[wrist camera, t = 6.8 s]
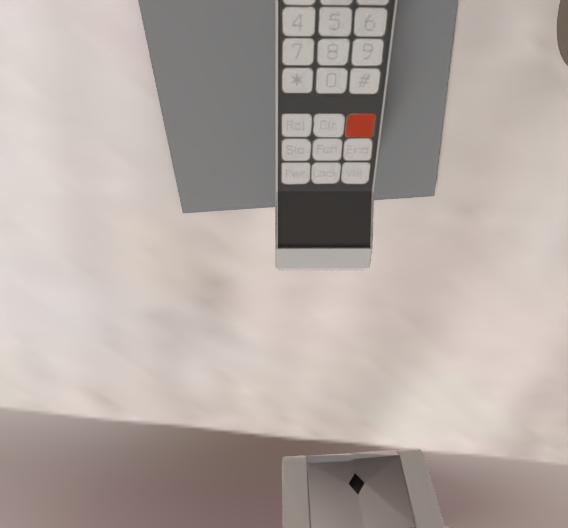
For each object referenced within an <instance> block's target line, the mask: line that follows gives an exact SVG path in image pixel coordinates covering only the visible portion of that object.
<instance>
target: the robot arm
mask: <svg viewBox="0 0 568 528" xmlns="http://www.w3.org/2000/svg"><path fill="white" fill-rule="evenodd" d="M306 457H307V463H306ZM282 501H283V528H452V527H445V526H444V523H443V519H442V516H441V512H440V509H439V505H438V502H437V498H436V495H435V491H434V488H433V484H432V481H431V477H430V474H429V470H428V467H427V464H426V460H425V456H424V454H423V452H422V451H421V450H420V449H408V450H386V451H373V452H360V453H351V454H334V455H314V456H291V457H283V462H282Z"/></svg>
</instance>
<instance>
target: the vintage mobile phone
mask: <svg viewBox="0 0 568 528" xmlns="http://www.w3.org/2000/svg"><path fill="white" fill-rule="evenodd" d="M397 2H398V0H275V239H276V268H277V269H279V270H281V271H363V270H365V269H367V268H369V267H370V261H371V253H372V238H373V202H374V186H375V178H376V170H377V162H378V154H379V146H380V138H381V130H382V122H383V114H384V106H385V98H386V90H387V82H388V74H389V66H390V58H391V50H392V42H393V34H394V26H395V18H396V10H397Z"/></svg>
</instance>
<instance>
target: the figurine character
mask: <svg viewBox="0 0 568 528" xmlns="http://www.w3.org/2000/svg"><path fill="white" fill-rule="evenodd" d="M557 40H558V46H559V51H560V54H561V56H562V58H563V60H564V62H565V63H566V64H567V65H568V0H561V1H560V5H559V11H558V18H557Z"/></svg>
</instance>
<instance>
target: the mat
mask: <svg viewBox="0 0 568 528" xmlns="http://www.w3.org/2000/svg"><path fill="white" fill-rule="evenodd" d="M138 1H139V6H140V10H141V15H142V20H143V25H144V30H145V34H146V39H147V44H148V49H149V53H150V58H151V63H152V68H153V73H154V77H155V82H156V87H157V92H158V96H159V101H160V106H161V111H162V116H163V120H164V125H165V130H166V135H167V140H168V144H169V149H170V154H171V159H172V163H173V168H174V173H175V178H176V183H177V187H178V192H179V197H180V202H181V206H182V211H183V213H193V212H207V211H222V210H237V209H251V208H266V207H275V0H138ZM457 2H458V0H398V2H397V10H396V18H395V26H394V34H393V42H392V50H391V58H390V66H389V74H388V82H387V90H386V98H385V106H384V114H383V122H382V130H381V138H380V146H379V154H378V162H377V170H376V178H375V186H374V200H383V199H398V198H412V197H427V196H434V194H435V186H436V178H437V169H438V161H439V152H440V144H441V136H442V127H443V119H444V111H445V102H446V94H447V85H448V77H449V69H450V60H451V52H452V44H453V35H454V27H455V18H456V10H457Z"/></svg>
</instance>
